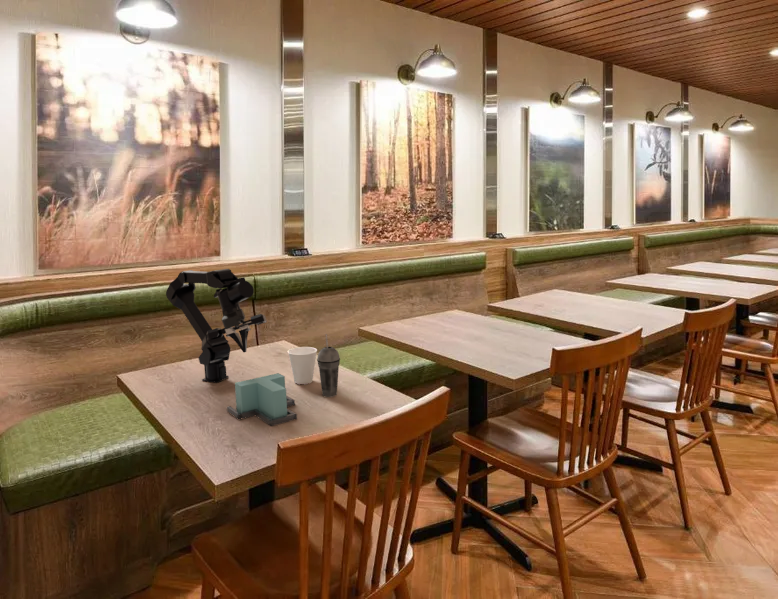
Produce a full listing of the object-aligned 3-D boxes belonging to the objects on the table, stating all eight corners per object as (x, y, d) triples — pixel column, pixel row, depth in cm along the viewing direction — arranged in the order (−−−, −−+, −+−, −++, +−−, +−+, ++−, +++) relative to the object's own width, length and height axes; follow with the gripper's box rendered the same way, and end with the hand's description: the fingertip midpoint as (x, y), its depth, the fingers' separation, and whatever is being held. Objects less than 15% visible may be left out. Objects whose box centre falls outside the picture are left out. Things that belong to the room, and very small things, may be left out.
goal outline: (227, 411, 170) (226, 406, 170) (282, 397, 181) (281, 393, 181) (254, 430, 156) (254, 425, 156) (312, 414, 167) (311, 409, 167)
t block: (236, 412, 170) (234, 382, 168) (279, 401, 178) (278, 373, 177) (258, 426, 159) (256, 395, 157) (302, 414, 168) (301, 384, 166)
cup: (312, 387, 190) (311, 355, 188) (284, 385, 192) (282, 353, 190) (322, 378, 200) (321, 347, 198) (294, 376, 202) (293, 346, 200)
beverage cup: (344, 392, 186) (343, 331, 182) (335, 399, 179) (333, 336, 175) (324, 389, 188) (322, 329, 184) (314, 397, 181) (311, 335, 178)
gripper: (195, 314, 180) (210, 362, 179) (253, 295, 181) (268, 343, 180) (205, 315, 191) (219, 361, 190) (259, 298, 192) (274, 343, 191)
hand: (245, 352), depth 188 cm, fingers closed
